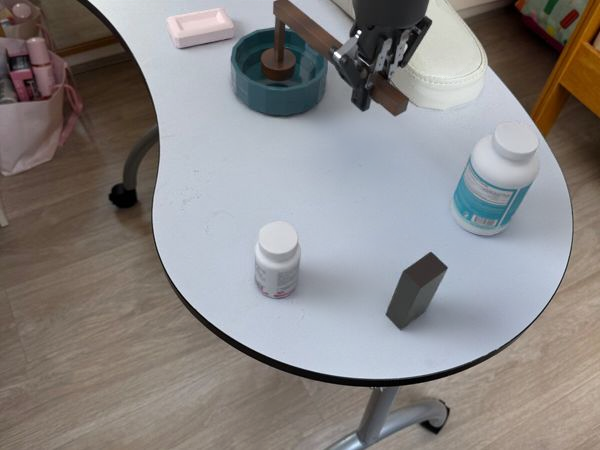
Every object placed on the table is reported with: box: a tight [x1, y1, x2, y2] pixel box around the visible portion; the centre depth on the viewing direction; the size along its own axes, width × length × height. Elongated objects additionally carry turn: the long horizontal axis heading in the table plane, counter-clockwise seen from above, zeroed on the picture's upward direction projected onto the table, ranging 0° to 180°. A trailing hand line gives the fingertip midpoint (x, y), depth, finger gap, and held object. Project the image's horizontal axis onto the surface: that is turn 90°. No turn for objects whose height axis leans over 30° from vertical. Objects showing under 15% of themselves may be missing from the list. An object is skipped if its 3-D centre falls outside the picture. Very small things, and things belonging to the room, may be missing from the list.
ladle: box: [261, 0, 410, 118], centre depth 73 cm, size 24×5×11 cm, turn 38°
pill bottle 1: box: [254, 220, 302, 299], centre depth 62 cm, size 5×5×8 cm
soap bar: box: [165, 6, 235, 49], centre depth 89 cm, size 5×9×2 cm, turn 113°
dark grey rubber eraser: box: [385, 251, 449, 331], centre depth 60 cm, size 2×4×9 cm, turn 128°
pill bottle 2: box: [450, 121, 541, 236], centre depth 67 cm, size 8×7×14 cm
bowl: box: [230, 26, 329, 116], centre depth 82 cm, size 13×13×5 cm
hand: (367, 102), depth 69 cm, fingers closed on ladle
